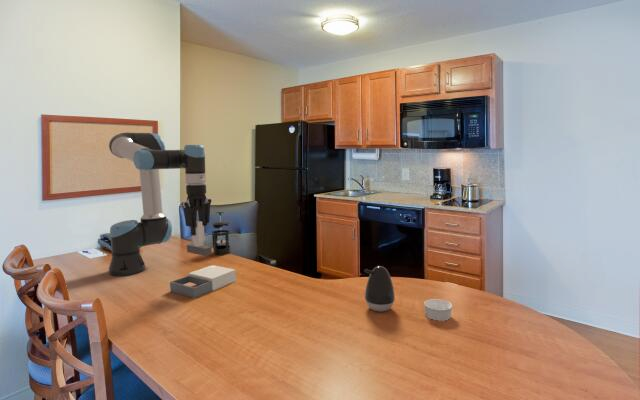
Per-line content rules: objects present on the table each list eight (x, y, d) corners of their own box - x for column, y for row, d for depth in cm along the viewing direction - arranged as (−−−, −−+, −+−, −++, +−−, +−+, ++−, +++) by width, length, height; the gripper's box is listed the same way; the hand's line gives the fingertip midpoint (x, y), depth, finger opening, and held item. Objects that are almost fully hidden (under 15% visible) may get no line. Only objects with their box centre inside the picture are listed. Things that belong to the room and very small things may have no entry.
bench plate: (189, 284, 154) (188, 273, 153) (212, 275, 165) (212, 265, 164) (212, 290, 146) (212, 278, 146) (235, 281, 157) (235, 269, 157)
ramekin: (445, 325, 115) (445, 312, 115) (419, 317, 121) (419, 304, 121) (456, 315, 122) (456, 303, 121) (430, 308, 128) (431, 296, 127)
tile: (189, 282, 148) (189, 288, 148) (179, 285, 144) (180, 291, 144) (196, 284, 145) (197, 290, 146) (187, 287, 141) (187, 294, 142)
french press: (235, 252, 204) (233, 211, 201) (222, 256, 196) (220, 213, 194) (220, 249, 211) (218, 209, 208) (207, 253, 203) (205, 212, 200)
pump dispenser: (361, 303, 132) (361, 262, 131) (389, 302, 133) (390, 261, 131) (367, 315, 122) (367, 271, 120) (398, 314, 123) (398, 270, 121)
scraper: (187, 252, 151) (185, 220, 149) (193, 250, 153) (191, 219, 151) (205, 256, 145) (204, 223, 143) (211, 254, 147) (210, 222, 146)
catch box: (170, 291, 146) (169, 281, 146) (188, 284, 154) (188, 275, 153) (194, 298, 139) (193, 288, 138) (212, 290, 146) (211, 281, 146)
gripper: (186, 186, 137) (189, 247, 140) (217, 183, 150) (219, 239, 153) (173, 185, 141) (176, 245, 144) (204, 182, 154) (207, 237, 157)
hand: (198, 241), depth 148 cm, fingers closed on scraper, 2 cm apart
